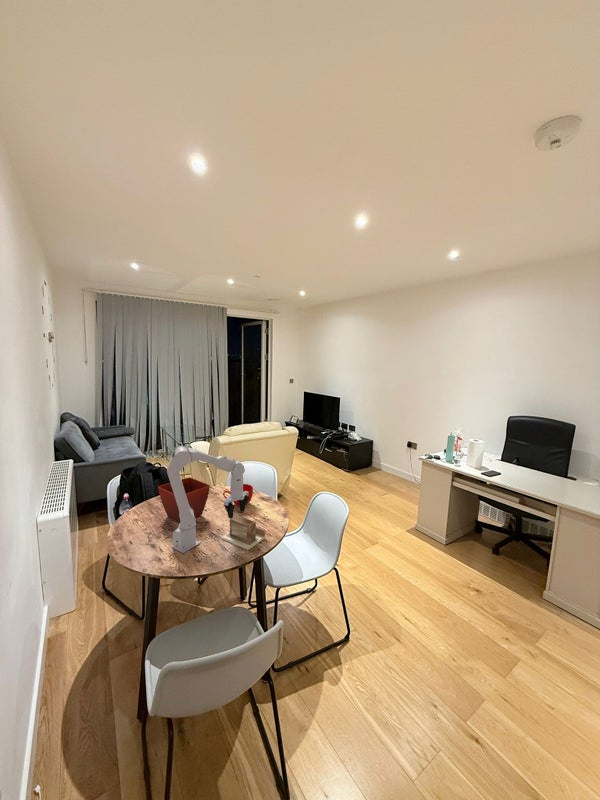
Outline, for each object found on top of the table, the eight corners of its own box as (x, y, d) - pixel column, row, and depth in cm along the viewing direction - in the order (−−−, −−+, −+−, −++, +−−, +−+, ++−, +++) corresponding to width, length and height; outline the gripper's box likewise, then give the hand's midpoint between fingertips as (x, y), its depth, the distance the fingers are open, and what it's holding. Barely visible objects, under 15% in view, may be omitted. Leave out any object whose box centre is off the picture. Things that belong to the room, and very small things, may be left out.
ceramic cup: (222, 501, 190) (222, 485, 189) (251, 499, 195) (251, 483, 194) (223, 511, 178) (223, 493, 177) (254, 508, 182) (254, 491, 181)
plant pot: (178, 529, 157) (178, 496, 155) (157, 517, 168) (157, 486, 166) (210, 515, 172) (210, 485, 170) (189, 505, 183) (189, 476, 181)
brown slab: (249, 543, 144) (249, 526, 143) (229, 535, 150) (229, 518, 149) (255, 538, 148) (255, 522, 147) (236, 531, 154) (236, 515, 153)
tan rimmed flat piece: (248, 550, 141) (248, 541, 140) (221, 539, 149) (221, 530, 149) (265, 538, 151) (265, 529, 151) (239, 528, 159) (239, 520, 159)
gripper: (231, 493, 142) (231, 523, 143) (253, 484, 154) (253, 511, 155) (220, 490, 145) (220, 518, 147) (242, 481, 158) (242, 507, 159)
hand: (236, 514), depth 151 cm, fingers open, 7 cm apart
